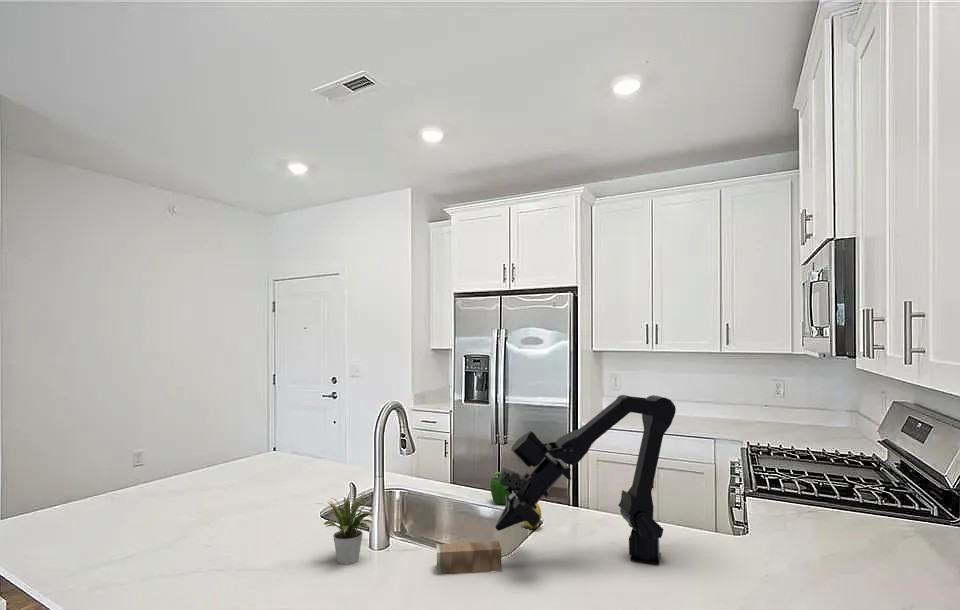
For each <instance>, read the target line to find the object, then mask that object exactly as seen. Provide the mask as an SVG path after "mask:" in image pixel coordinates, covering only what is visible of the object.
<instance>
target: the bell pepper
mask: <svg viewBox="0 0 960 610" xmlns="http://www.w3.org/2000/svg"><path fill="white" fill-rule="evenodd" d="M500 473H501V471H497V472H494V474H495V476H499V475H500ZM490 493H491V497H492V500H493V502H494V503H495V504H496V505H497V504H498V505H505V506H506V495H507V496H508V497H509V496H510V492H509V491H506V490H505V488H504V486H503V485H501V484H500V483H499V480H498V477H493V478H491V480H490Z"/></svg>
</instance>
